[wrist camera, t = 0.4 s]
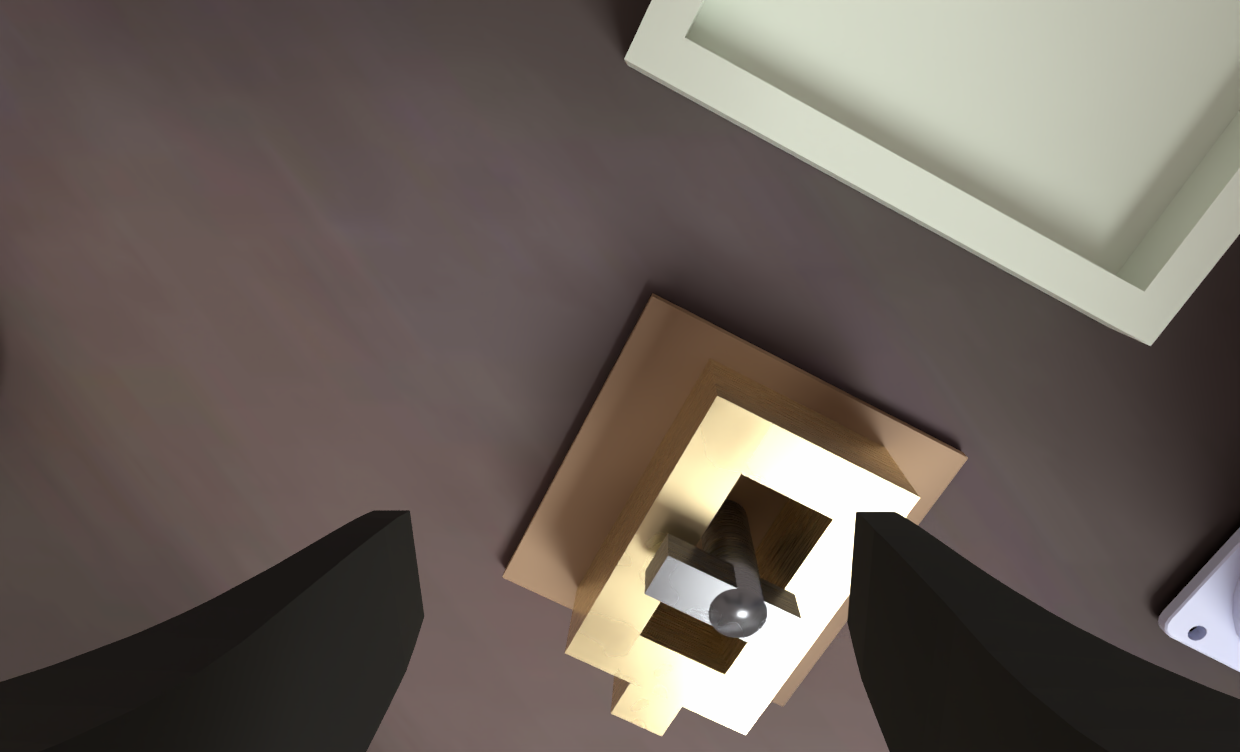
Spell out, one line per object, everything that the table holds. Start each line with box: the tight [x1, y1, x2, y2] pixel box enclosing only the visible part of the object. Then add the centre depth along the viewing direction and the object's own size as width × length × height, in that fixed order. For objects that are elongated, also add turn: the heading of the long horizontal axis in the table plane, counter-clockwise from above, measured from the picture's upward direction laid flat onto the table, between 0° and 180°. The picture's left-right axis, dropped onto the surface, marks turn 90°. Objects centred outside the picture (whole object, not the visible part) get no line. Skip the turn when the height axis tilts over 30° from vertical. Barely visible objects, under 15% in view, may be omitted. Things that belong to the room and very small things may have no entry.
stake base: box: [503, 293, 968, 707], centre depth 22 cm, size 10×10×1 cm
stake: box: [644, 499, 802, 655], centre depth 20 cm, size 4×1×4 cm, turn 63°
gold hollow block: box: [565, 358, 920, 736], centre depth 20 cm, size 6×10×3 cm, turn 153°
